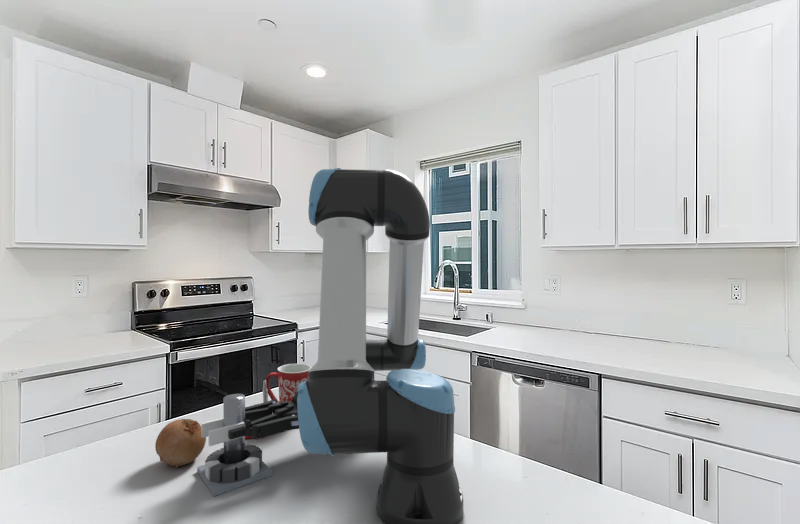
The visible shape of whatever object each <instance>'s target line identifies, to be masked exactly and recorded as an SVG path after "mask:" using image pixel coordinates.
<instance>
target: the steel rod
mask: <svg viewBox="0 0 800 524" xmlns="http://www.w3.org/2000/svg"><path fill="white" fill-rule="evenodd" d="M245 407H246V396H245V394H243V393H232V394H227V395H225V396H223V418H224V427H225V426H229V425H233V424H237V423H240V422H244V423H245ZM245 446H246V439H245V437H241V438H238V439H234V440H230V441H227V442H223V448H224V464H235V463H239V462H242V461H244V460H245Z"/></svg>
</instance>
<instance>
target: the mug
mask: <svg viewBox="0 0 800 524" xmlns="http://www.w3.org/2000/svg"><path fill="white" fill-rule="evenodd" d="M311 368H312V366H311V365H309V364H306V363H287V364H283V365H281V366H278V367H277V369H276V370H277V372H274V371H273V372H270V373H269V374H267V375H266V377H265V380H266V384H267V389H268V397H269V398H270V400H273V399H277V397H276V396H275V394H274V392H273V391H272V389H271V387H270V378H271V377H274V378H276V380H277V383H278V399H279V400H278V399H277V403H280V402H283V401H288V402H289V401H290V402H291V401H292V399H293V398H294V395H295V394H296V393H297V392H298V386H299V384H300V383H302V382H304V381H307V382H308V372H309V370H310V369H311Z"/></svg>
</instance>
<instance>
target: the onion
mask: <svg viewBox="0 0 800 524" xmlns="http://www.w3.org/2000/svg"><path fill="white" fill-rule="evenodd" d="M206 442H207V437H204V438H202V424H200V423H199V422H198V421H197V420H194V419H191V418H188V419H187V418H185V419H184V418H181V419H176V420H174V421H171V422H169V423H167V424H166V425H165V426H164V427H163V428H161V431H160V432H159V434H158V436H157V437H156V439H155V445H154V447H155V453H156V454H157V455H158V457H159V463H164V464H166V465H168V466H171V467H175V469H176V468H178V467H181V466H185V465H187V464H188V465H189V464H190V463H192V462H193V461H195V460H196V459H197V458H199V456H200V455H201V454H202V453H203V450H204V448H205V447H206V446H205V445H206Z"/></svg>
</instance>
